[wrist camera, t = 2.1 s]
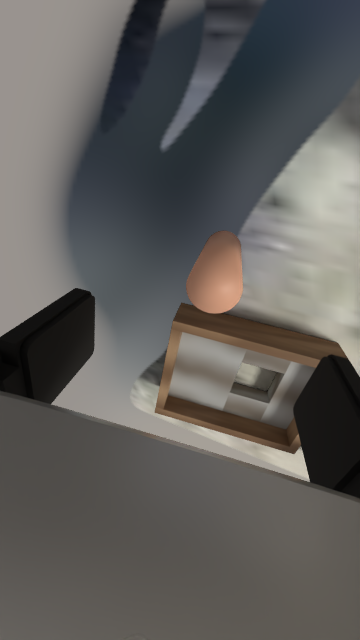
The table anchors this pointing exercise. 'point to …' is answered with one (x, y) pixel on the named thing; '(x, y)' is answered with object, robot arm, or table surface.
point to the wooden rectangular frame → (222, 367)
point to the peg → (217, 274)
